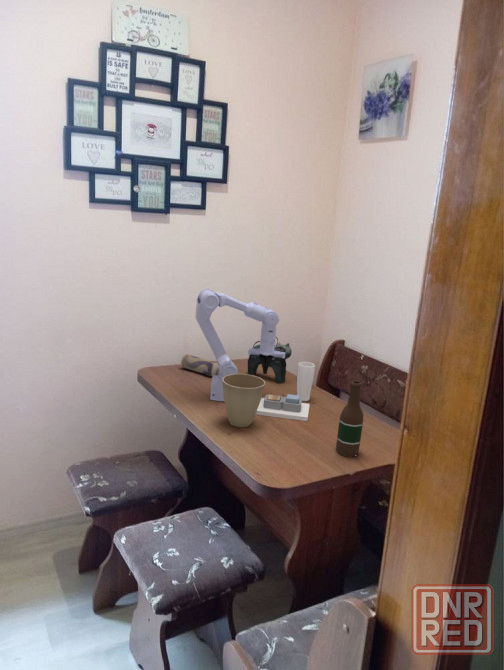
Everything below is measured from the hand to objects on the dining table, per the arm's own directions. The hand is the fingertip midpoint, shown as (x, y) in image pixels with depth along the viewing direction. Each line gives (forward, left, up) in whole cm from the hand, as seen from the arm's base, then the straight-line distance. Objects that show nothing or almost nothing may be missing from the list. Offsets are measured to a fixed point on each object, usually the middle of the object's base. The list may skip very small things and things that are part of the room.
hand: (265, 373), depth 214 cm
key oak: (+5, -11, -8) cm, 15 cm away
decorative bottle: (-29, +20, -11) cm, 37 cm away
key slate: (+12, -11, -7) cm, 18 cm away
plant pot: (-4, -28, -11) cm, 30 cm away
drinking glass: (+16, +4, -11) cm, 19 cm away
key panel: (+9, -11, -10) cm, 18 cm away
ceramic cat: (-2, +24, -11) cm, 27 cm away
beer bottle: (+33, -39, -11) cm, 52 cm away
